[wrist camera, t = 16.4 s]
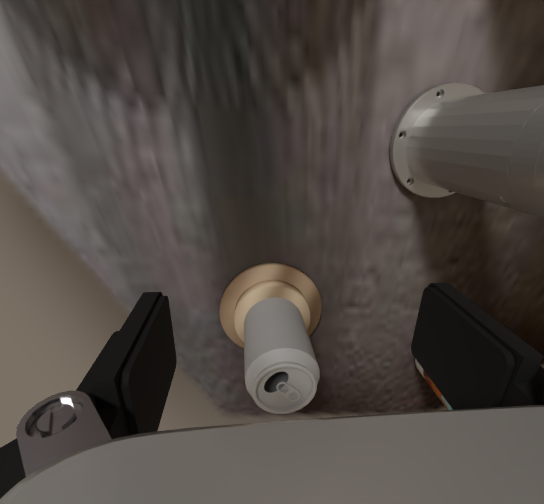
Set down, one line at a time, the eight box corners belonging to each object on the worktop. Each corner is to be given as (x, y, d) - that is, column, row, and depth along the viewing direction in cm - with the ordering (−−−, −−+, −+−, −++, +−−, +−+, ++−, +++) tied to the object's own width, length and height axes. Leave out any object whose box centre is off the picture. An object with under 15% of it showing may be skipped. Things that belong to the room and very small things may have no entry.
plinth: (330, 269, 41) (337, 279, 38) (307, 352, 46) (311, 367, 43) (227, 256, 39) (226, 265, 36) (214, 344, 44) (212, 359, 41)
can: (269, 283, 38) (280, 347, 27) (312, 313, 40) (340, 384, 29) (232, 324, 39) (228, 400, 28) (276, 351, 42) (288, 431, 31)
